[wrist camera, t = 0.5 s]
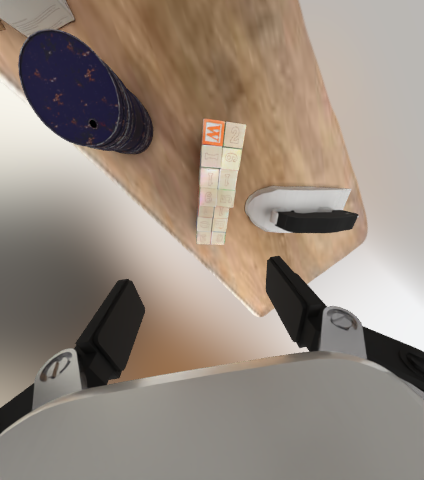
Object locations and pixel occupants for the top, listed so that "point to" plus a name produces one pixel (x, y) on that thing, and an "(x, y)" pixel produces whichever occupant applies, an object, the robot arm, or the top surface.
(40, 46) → the storage jar
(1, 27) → the walnut block
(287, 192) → the iron
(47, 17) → the skincare box
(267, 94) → the top surface
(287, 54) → the top surface
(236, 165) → the stack of blocks
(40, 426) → the robot arm
